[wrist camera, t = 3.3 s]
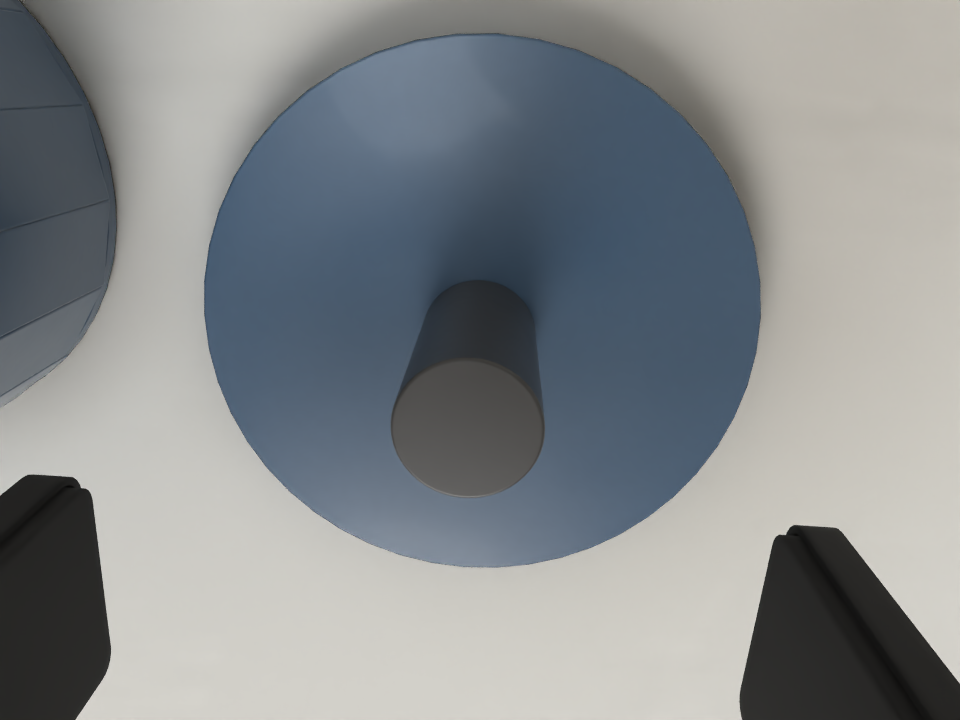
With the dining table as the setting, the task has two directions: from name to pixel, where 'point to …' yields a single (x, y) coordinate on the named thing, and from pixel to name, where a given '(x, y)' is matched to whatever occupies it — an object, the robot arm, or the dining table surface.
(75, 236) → the teapot
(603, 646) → the dining table surface
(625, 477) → the teapot lid
